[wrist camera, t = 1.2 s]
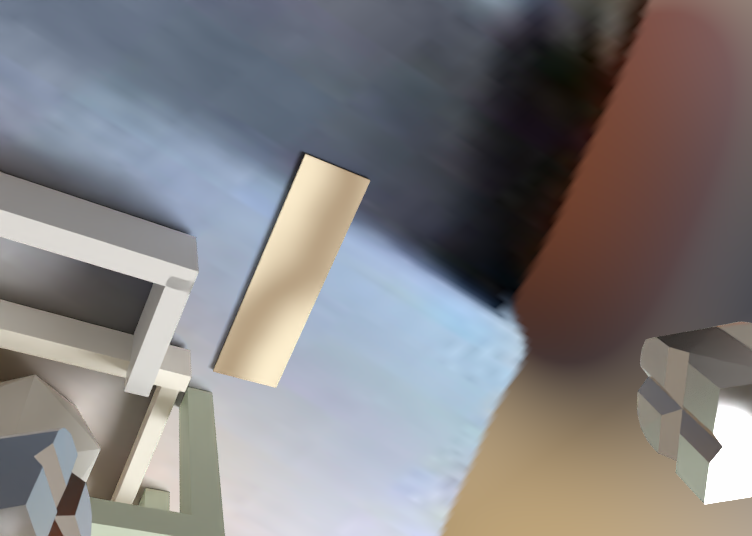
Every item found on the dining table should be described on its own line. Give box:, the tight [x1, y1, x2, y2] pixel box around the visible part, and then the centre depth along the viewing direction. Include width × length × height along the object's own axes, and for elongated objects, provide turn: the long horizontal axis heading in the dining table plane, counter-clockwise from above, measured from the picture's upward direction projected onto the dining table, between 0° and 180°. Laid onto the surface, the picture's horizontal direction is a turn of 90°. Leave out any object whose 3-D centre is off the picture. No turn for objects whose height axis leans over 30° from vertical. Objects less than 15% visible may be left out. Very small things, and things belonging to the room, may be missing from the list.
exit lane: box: [213, 154, 370, 388], centre depth 36 cm, size 26×14×1 cm, turn 64°
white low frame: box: [0, 172, 199, 504], centre depth 36 cm, size 14×21×5 cm
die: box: [0, 375, 101, 482], centre depth 35 cm, size 8×9×10 cm
